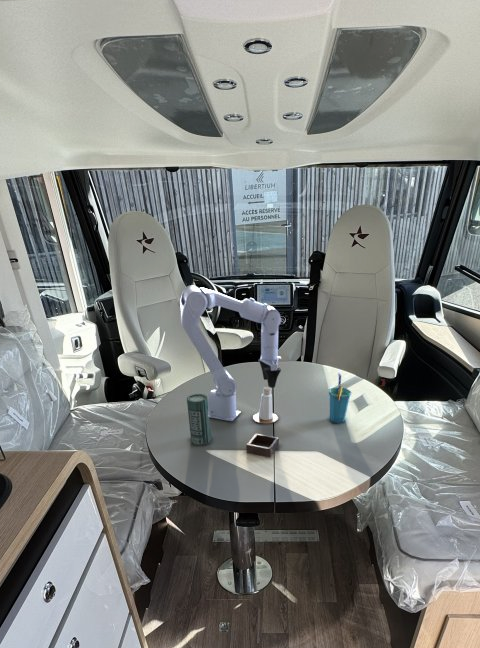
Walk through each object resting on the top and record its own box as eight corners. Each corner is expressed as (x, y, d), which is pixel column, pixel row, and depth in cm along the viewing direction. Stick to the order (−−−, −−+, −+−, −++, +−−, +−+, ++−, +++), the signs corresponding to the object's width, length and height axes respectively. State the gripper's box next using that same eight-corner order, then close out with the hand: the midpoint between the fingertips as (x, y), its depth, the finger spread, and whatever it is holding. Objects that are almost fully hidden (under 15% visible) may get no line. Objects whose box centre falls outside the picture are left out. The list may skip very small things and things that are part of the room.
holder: (246, 453, 138) (246, 444, 137) (255, 441, 144) (255, 433, 143) (270, 457, 136) (270, 449, 134) (278, 445, 142) (279, 437, 140)
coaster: (249, 421, 156) (249, 420, 156) (258, 411, 163) (258, 410, 163) (273, 425, 153) (273, 424, 153) (281, 415, 160) (281, 414, 160)
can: (213, 437, 146) (210, 395, 137) (205, 446, 142) (201, 402, 133) (196, 434, 148) (192, 392, 139) (188, 443, 143) (183, 400, 134)
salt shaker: (255, 414, 159) (257, 385, 152) (269, 412, 161) (271, 384, 154) (261, 421, 155) (263, 391, 148) (275, 419, 157) (277, 389, 150)
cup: (324, 410, 164) (327, 370, 155) (345, 410, 164) (349, 371, 155) (327, 427, 152) (332, 386, 144) (350, 427, 152) (355, 386, 143)
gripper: (286, 350, 144) (285, 390, 152) (275, 337, 156) (275, 375, 164) (265, 352, 143) (265, 391, 151) (256, 339, 155) (256, 376, 163)
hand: (269, 383), depth 158 cm, fingers open, 7 cm apart
